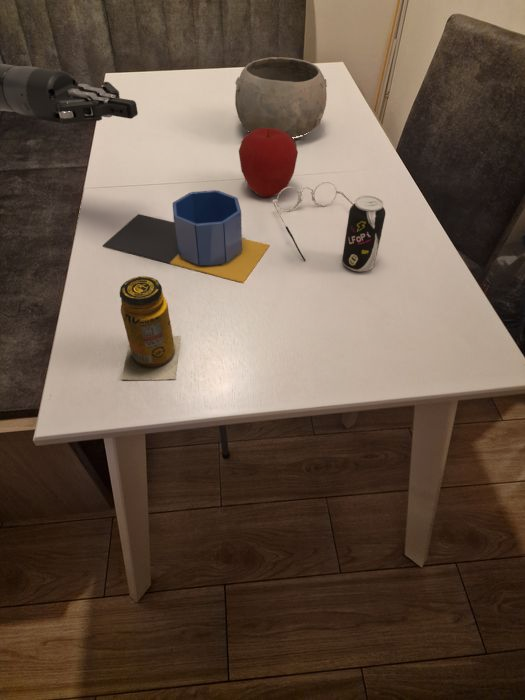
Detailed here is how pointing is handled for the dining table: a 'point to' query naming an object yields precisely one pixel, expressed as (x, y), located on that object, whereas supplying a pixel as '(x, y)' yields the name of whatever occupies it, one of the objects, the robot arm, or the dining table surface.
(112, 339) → the dining table surface
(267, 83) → the bowl
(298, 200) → the eyeglasses
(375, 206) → the beverage can
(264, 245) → the place mat
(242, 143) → the apple
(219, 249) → the glazed bowl
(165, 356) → the condiment
